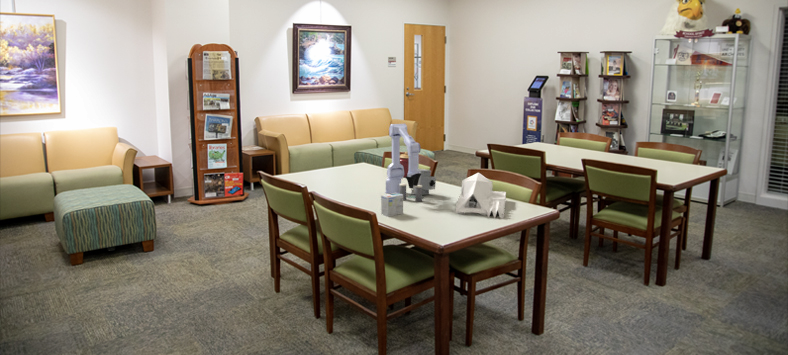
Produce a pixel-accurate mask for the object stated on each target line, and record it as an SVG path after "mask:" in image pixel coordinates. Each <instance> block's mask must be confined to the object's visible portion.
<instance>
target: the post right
mask: <svg viewBox="0 0 788 355" xmlns="http://www.w3.org/2000/svg"><path fill="white" fill-rule="evenodd" d="M414 196H415V198H414V202H417V203H419V202H423V198H422V197H423V195H422V185H417V186H415V194H414Z"/></svg>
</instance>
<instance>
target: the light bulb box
mask: <svg viewBox="0 0 788 355" xmlns="http://www.w3.org/2000/svg"><path fill="white" fill-rule="evenodd" d="M380 198H381V199H380V200H381V201H380V202H381V204H380V205H381V207H380V210H381V211H380V212H381V213H380V214H381V215H382V214H383V215H382V216H386V217H387V218H389V217H392V216H397V215H402V214H404V200H403V194H399V193H386V194H381V195H380Z"/></svg>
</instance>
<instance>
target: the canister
mask: <svg viewBox="0 0 788 355" xmlns="http://www.w3.org/2000/svg"><path fill="white" fill-rule="evenodd" d="M400 164H401V165H403V168H404V176H403V177H402V178H406V176H407V174H408V171H409V156H408V151H405V152H404V153H402V154H401V153H400Z"/></svg>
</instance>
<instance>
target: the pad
mask: <svg viewBox="0 0 788 355" xmlns="http://www.w3.org/2000/svg"><path fill="white" fill-rule="evenodd" d="M407 198H408V199H409V198H410V199H415V195H408V196H406V199H407ZM423 198H424V196H422V199H423Z"/></svg>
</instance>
